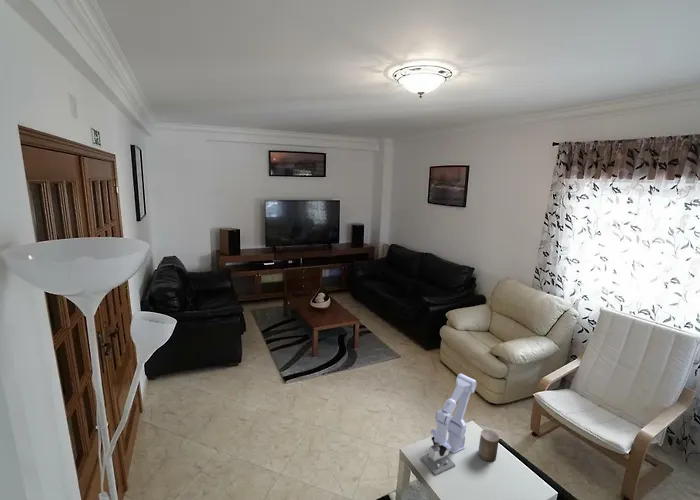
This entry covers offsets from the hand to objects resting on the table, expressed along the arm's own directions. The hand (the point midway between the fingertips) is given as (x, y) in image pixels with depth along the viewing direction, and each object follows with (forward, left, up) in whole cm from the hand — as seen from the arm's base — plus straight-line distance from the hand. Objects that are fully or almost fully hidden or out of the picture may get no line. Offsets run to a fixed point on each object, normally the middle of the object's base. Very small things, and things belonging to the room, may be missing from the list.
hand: (439, 452), depth 192 cm
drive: (0, 0, -2) cm, 2 cm away
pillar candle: (-29, +8, -7) cm, 31 cm away
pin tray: (0, 0, -7) cm, 7 cm away
